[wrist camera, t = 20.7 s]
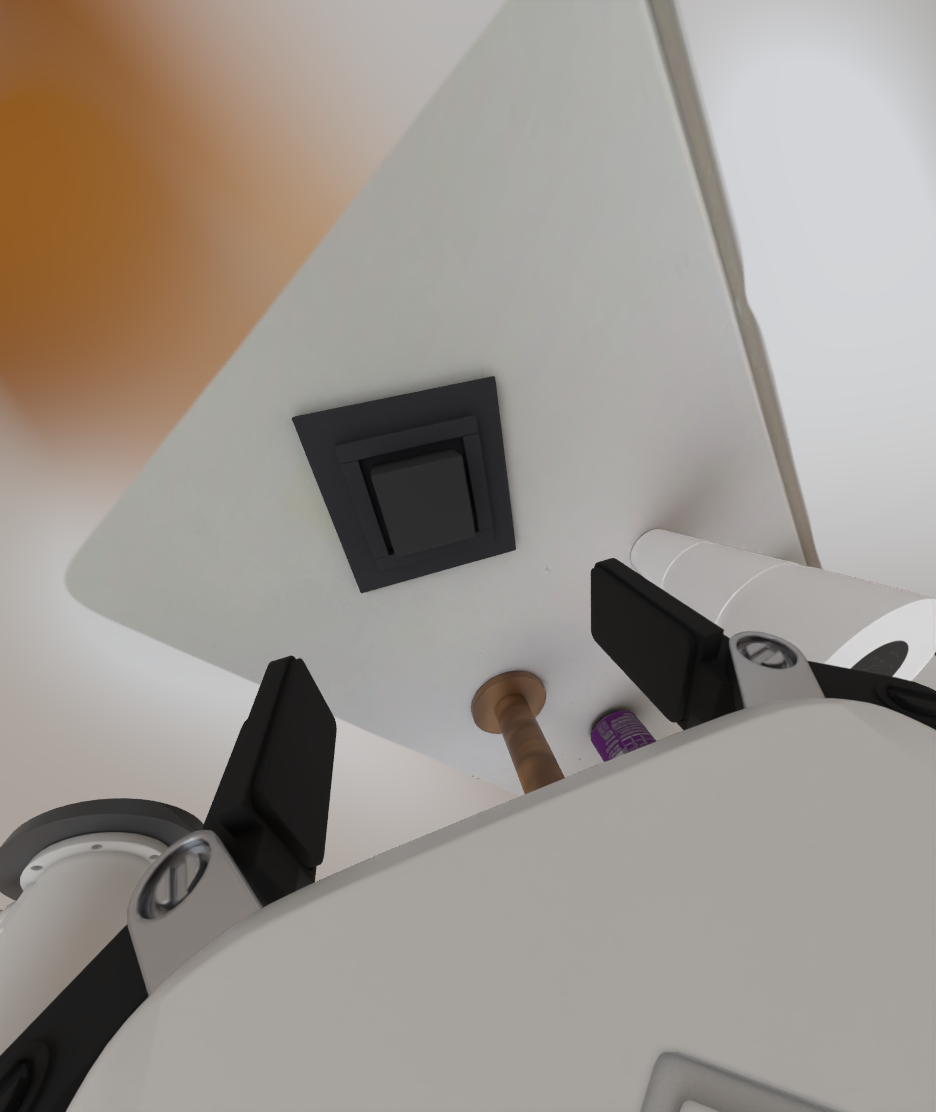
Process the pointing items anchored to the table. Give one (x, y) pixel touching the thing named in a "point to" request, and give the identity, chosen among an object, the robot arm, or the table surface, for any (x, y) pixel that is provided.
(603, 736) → the beverage can
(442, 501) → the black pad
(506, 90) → the table surface
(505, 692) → the stand
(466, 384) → the base pad
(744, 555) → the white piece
